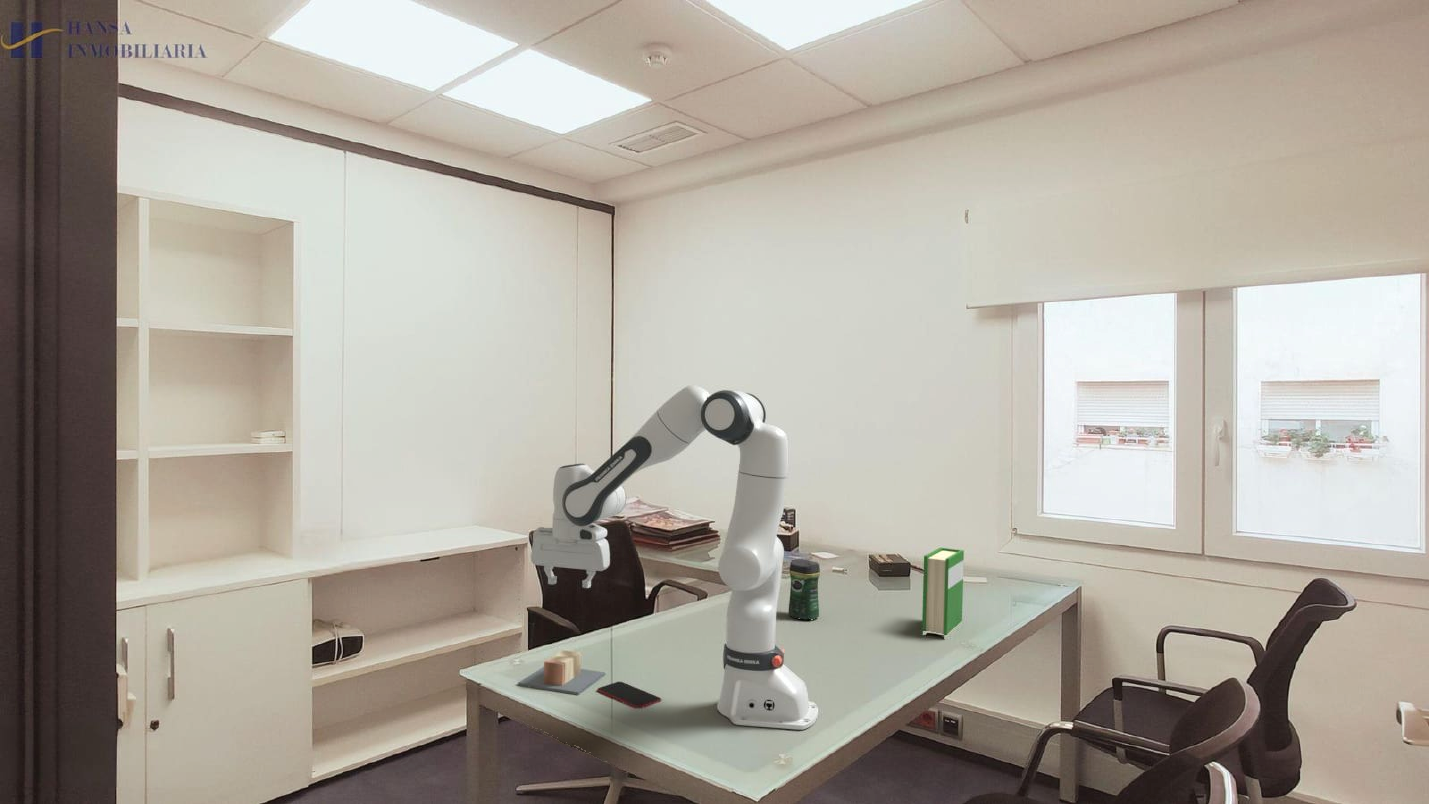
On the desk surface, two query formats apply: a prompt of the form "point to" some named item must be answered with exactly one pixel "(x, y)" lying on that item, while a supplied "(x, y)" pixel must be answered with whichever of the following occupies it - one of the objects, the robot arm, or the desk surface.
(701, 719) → the desk surface
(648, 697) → the smartphone
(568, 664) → the beech block
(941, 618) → the hardback book
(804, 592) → the coffee jar
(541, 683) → the rubber mat
